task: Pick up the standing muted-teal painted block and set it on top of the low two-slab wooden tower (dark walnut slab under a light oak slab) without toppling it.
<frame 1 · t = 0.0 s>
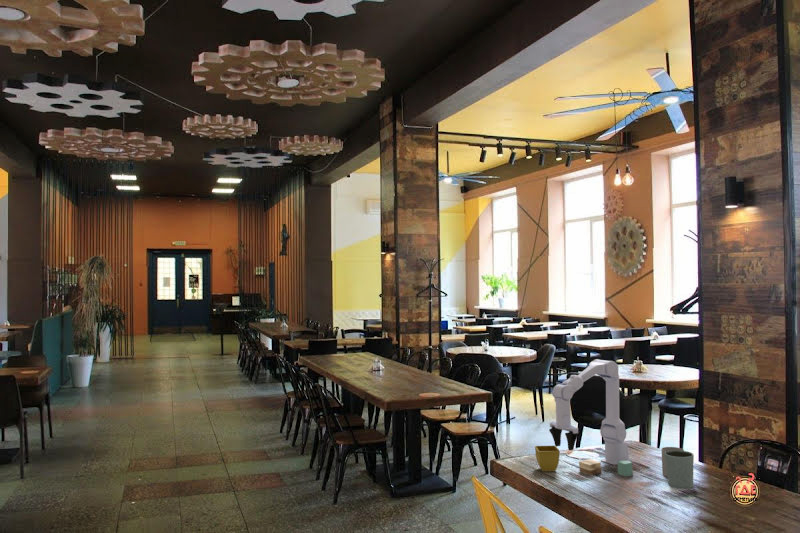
hand: (564, 447, 269), 10 cm above the table, fingers open, 7 cm apart
teal block: (625, 474, 264), on the table
cup: (673, 475, 262), on the table
walnut slab: (590, 473, 269), on the table, touching oak slab
grey-green embossed container: (680, 485, 249), on the table
oak slab: (589, 467, 269), point 2 cm above the table, touching walnut slab
flower pot: (547, 470, 273), on the table
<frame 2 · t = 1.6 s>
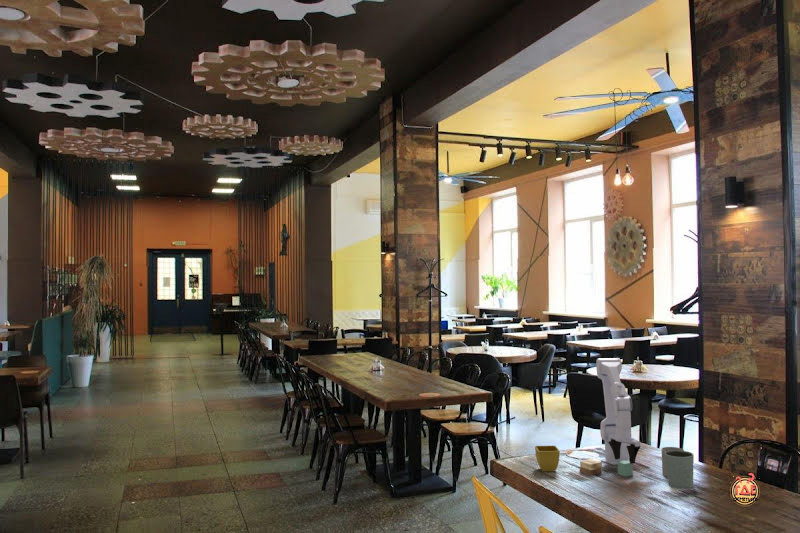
hand: (624, 461, 264), 5 cm above the table, fingers open, 7 cm apart
nothing on the table moved.
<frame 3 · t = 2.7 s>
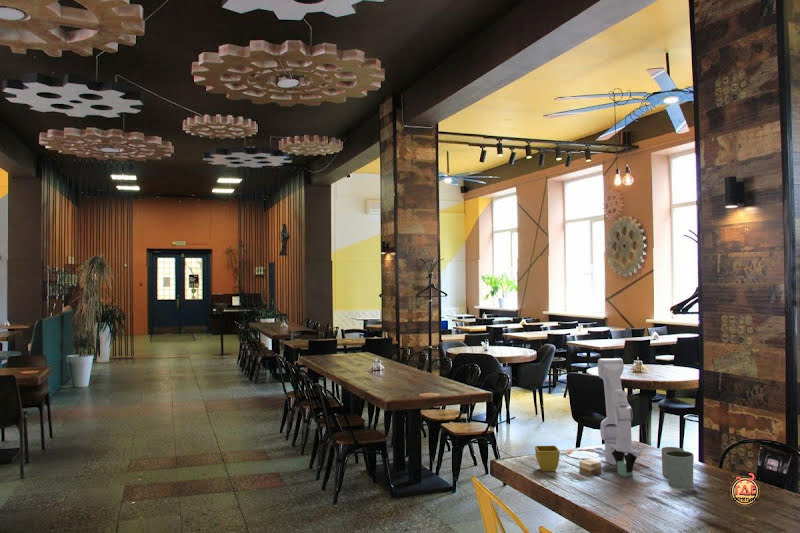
hand: (625, 470, 264), 1 cm above the table, fingers closed on teal block, 4 cm apart
teal block: (625, 474, 264), on the table, touching gripper
walnut slab: (590, 473, 269), on the table
oak slab: (590, 467, 269), point 2 cm above the table
everything else where it was.
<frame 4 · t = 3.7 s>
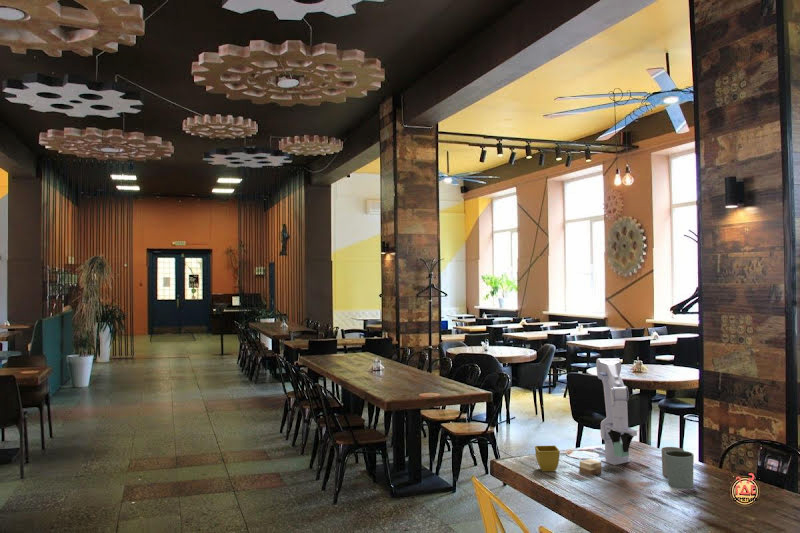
hand: (621, 450, 265), 9 cm above the table, fingers closed on teal block, 4 cm apart
teal block: (621, 455, 265), point 8 cm above the table, touching gripper
walnut slab: (590, 473, 269), on the table, touching oak slab
oak slab: (590, 467, 269), point 2 cm above the table, touching walnut slab
everything else where it was.
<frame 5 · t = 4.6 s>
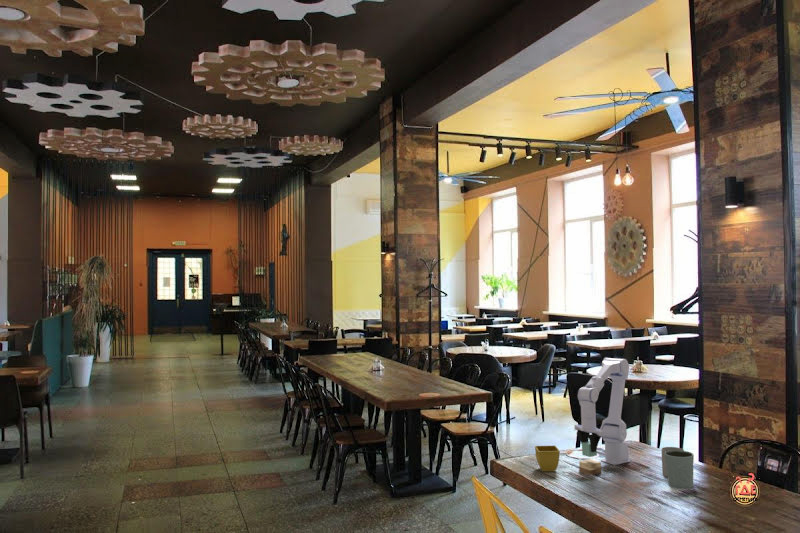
hand: (589, 450, 269), 9 cm above the table, fingers closed on teal block, 4 cm apart
teal block: (589, 455, 269), point 7 cm above the table, touching gripper
everything else where it was.
when the fingers open (7 cm above the table, at t = 5.2 s): teal block drops 1 cm, point 4 cm above the table.
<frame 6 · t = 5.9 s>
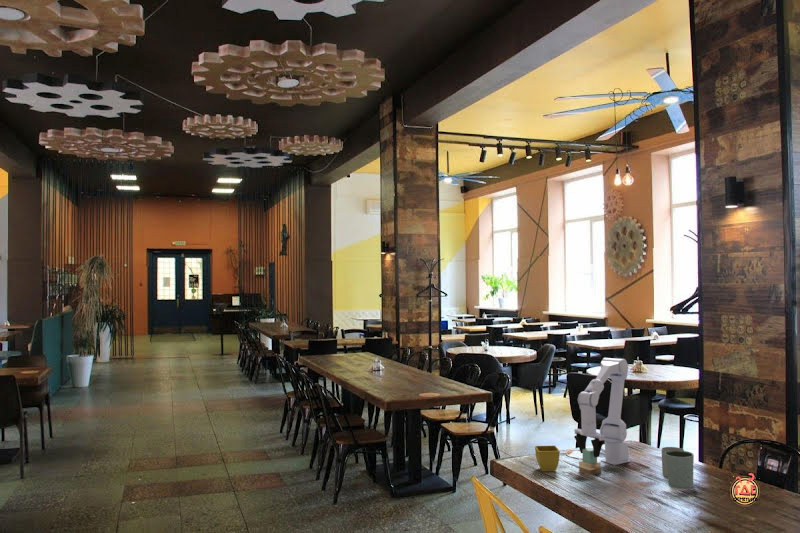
hand: (589, 454, 269), 7 cm above the table, fingers open, 7 cm apart
teal block: (590, 461, 269), point 4 cm above the table
walnut slab: (590, 473, 269), on the table
oak slab: (589, 467, 269), point 2 cm above the table
everything else where it was.
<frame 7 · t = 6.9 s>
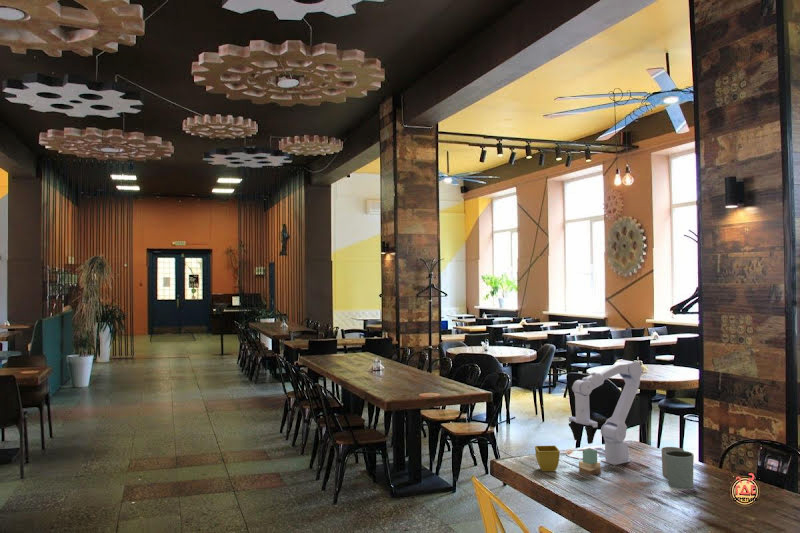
hand: (583, 441, 277), 10 cm above the table, fingers open, 7 cm apart
teal block: (590, 462, 269), point 4 cm above the table, touching oak slab
walnut slab: (589, 473, 269), on the table, touching oak slab
oak slab: (589, 467, 269), point 2 cm above the table, touching teal block, walnut slab
everything else where it was.
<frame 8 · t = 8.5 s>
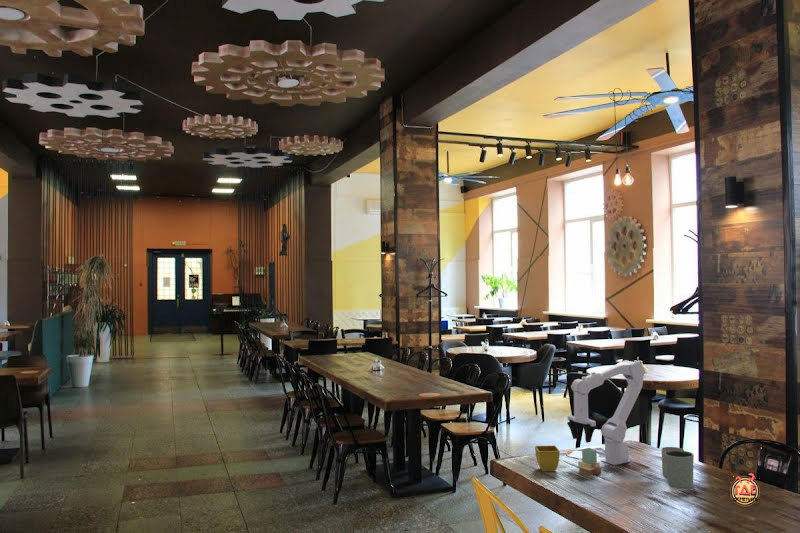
hand: (581, 440, 279), 10 cm above the table, fingers open, 7 cm apart
nothing on the table moved.
at the end: teal block 0.3 cm off-centre on the oak slab, point 2.3 cm above the oak slab's base; teal block tilted 1°; oak slab 0.4 cm off-centre on the walnut slab, point 2.3 cm above the walnut slab's base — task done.
